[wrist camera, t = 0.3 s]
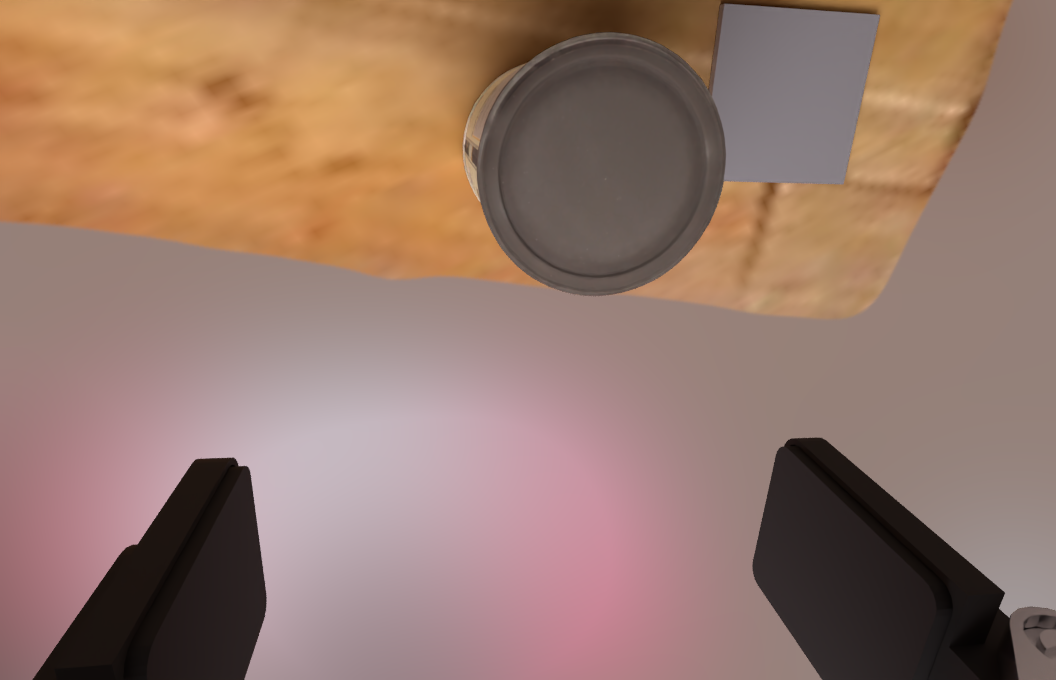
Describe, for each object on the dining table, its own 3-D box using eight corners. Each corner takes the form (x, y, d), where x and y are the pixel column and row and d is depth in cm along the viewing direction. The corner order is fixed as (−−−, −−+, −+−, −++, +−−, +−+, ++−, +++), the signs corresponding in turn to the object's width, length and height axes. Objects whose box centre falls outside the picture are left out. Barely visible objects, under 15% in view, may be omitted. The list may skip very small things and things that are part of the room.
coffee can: (659, 131, 38) (776, 144, 25) (560, 264, 40) (621, 340, 27) (528, 18, 35) (585, -34, 22) (428, 169, 37) (425, 204, 24)
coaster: (720, 5, 36) (724, 3, 36) (873, 16, 38) (880, 14, 37) (696, 179, 40) (700, 180, 39) (837, 183, 41) (843, 184, 41)
